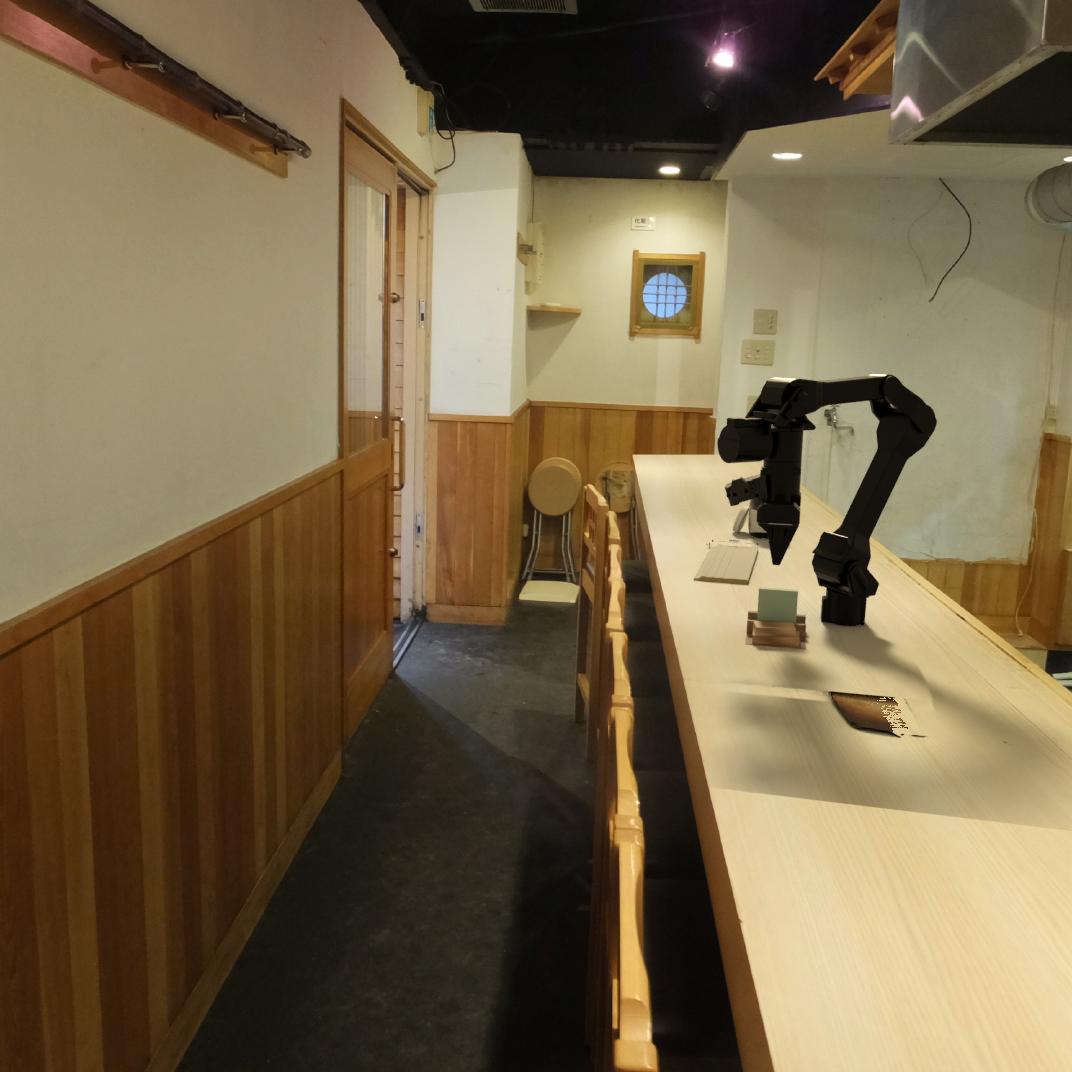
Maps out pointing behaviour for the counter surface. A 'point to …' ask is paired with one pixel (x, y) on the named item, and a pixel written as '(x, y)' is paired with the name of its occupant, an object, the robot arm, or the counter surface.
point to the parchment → (866, 710)
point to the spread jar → (750, 520)
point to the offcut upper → (774, 628)
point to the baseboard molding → (727, 564)
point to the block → (777, 604)
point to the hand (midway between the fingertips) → (777, 558)
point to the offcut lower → (777, 640)
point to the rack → (752, 617)
